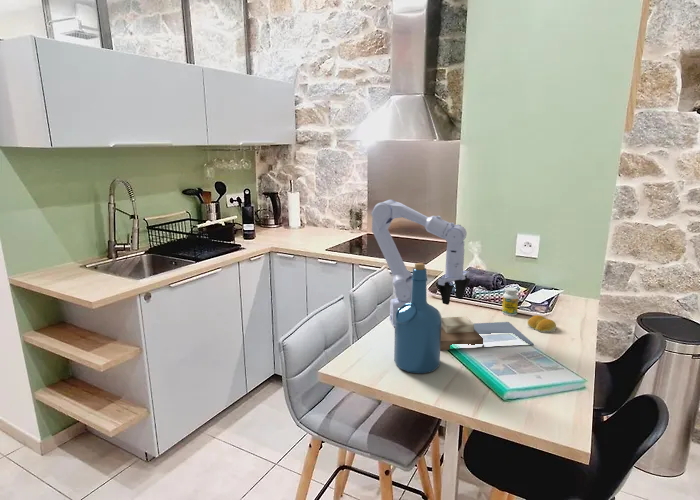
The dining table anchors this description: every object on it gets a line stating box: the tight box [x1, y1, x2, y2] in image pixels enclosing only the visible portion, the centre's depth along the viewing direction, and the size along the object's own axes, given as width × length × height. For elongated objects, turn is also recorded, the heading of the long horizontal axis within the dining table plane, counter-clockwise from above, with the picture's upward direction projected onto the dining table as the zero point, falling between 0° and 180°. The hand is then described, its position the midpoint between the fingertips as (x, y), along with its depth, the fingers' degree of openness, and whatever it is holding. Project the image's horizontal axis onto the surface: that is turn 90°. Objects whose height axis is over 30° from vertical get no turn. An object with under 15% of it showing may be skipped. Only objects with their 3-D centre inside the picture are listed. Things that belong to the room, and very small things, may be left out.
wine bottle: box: [393, 262, 443, 374], centre depth 126 cm, size 14×13×30 cm
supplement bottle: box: [501, 287, 519, 317], centre depth 166 cm, size 5×5×10 cm
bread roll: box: [527, 314, 557, 333], centre depth 154 cm, size 8×9×4 cm
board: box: [440, 327, 483, 351], centre depth 147 cm, size 14×18×3 cm
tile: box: [441, 316, 474, 333], centre depth 146 cm, size 9×7×2 cm
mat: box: [472, 321, 535, 346], centre depth 149 cm, size 16×18×1 cm
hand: (452, 301), depth 151 cm, fingers open, 7 cm apart
